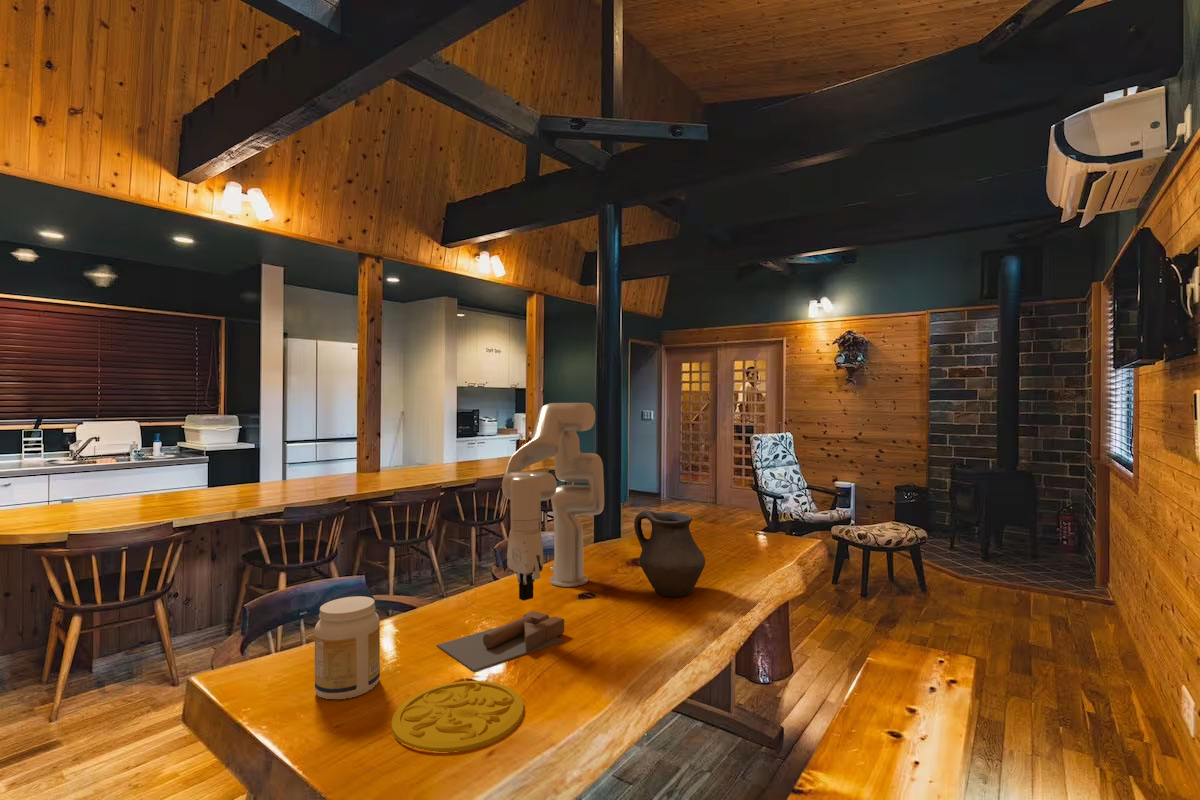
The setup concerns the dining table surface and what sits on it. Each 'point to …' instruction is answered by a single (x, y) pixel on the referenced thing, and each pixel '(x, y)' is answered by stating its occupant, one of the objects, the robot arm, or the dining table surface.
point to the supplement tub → (347, 648)
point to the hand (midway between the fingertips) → (526, 598)
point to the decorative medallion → (458, 716)
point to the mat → (488, 650)
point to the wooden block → (527, 630)
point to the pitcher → (669, 553)
